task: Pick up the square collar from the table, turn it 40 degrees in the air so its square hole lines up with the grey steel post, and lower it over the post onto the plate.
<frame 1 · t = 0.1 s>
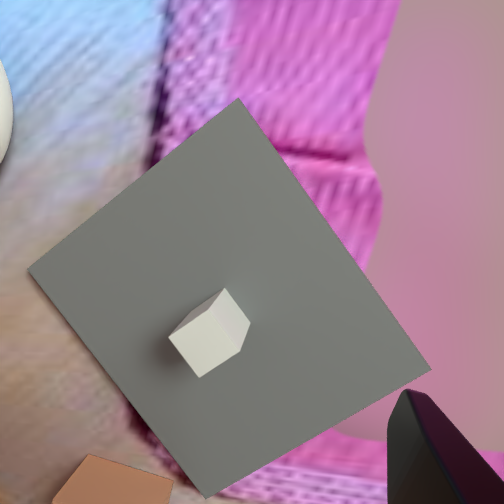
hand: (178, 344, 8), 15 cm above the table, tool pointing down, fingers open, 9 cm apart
post plate: (223, 311, 24), on the table
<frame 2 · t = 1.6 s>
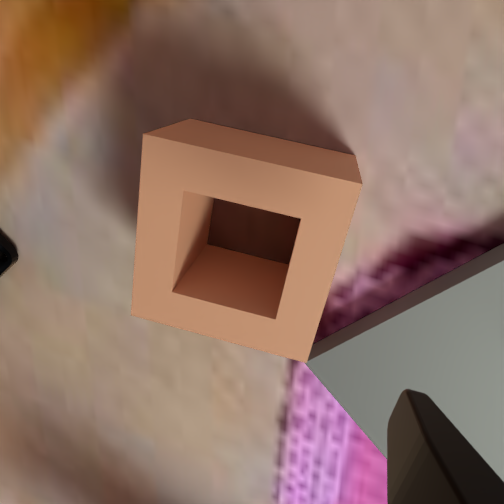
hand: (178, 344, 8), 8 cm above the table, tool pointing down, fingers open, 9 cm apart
collar: (255, 215, 16), on the table
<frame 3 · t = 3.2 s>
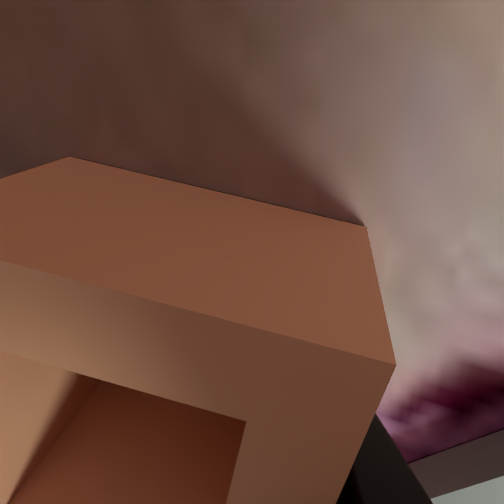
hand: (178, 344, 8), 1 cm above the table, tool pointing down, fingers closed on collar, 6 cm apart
collar: (194, 316, 9), on the table, touching gripper
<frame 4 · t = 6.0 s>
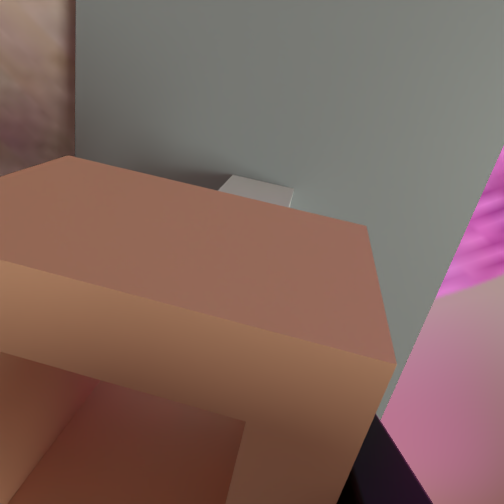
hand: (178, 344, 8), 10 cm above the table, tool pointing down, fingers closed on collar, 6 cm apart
collar: (193, 316, 9), point 9 cm above the table, touching gripper
post plate: (260, 204, 18), on the table
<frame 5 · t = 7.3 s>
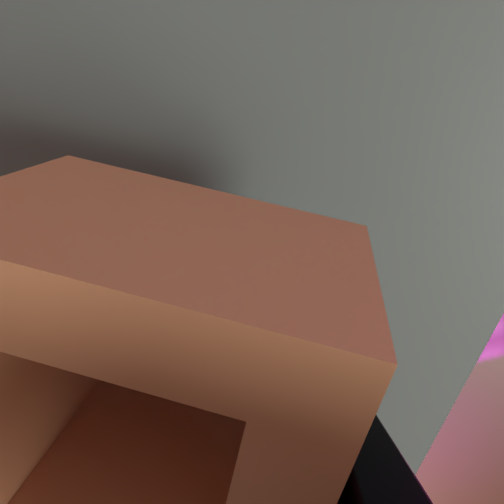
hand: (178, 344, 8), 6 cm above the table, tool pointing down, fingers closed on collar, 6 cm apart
collar: (193, 316, 9), point 5 cm above the table, touching gripper
post plate: (239, 240, 13), on the table
when the fingers open (3 cm above the table, at t = 8.7 s): collar drops 1 cm, resting on post plate.
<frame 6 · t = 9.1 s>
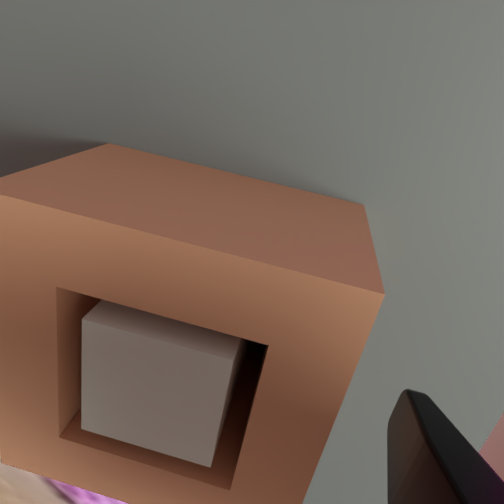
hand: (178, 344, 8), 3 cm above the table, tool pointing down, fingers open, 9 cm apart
collar: (213, 285, 10), point 1 cm above the table, touching post plate
post plate: (222, 269, 11), on the table
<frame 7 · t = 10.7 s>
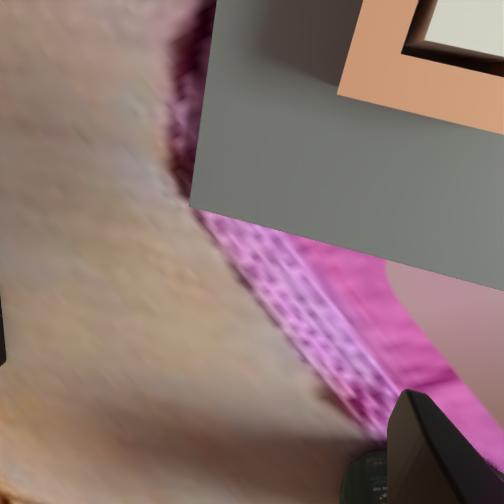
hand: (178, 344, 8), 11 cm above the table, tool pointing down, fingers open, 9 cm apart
collar: (456, 12, 13), point 1 cm above the table, touching post plate
coffee jar: (424, 491, 24), on the table
post plate: (449, 16, 14), on the table
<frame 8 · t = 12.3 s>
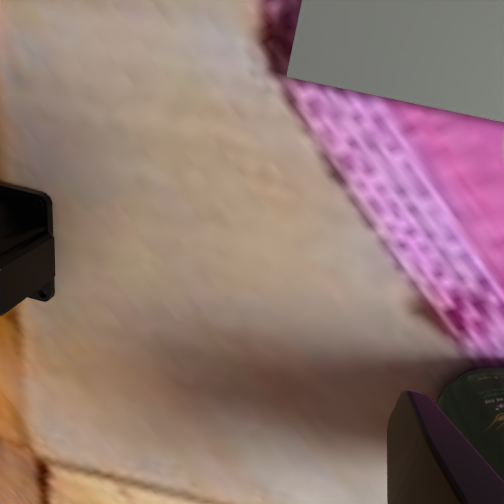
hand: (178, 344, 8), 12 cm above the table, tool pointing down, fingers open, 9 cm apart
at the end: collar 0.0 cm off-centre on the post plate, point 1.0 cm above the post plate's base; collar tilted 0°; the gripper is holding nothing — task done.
